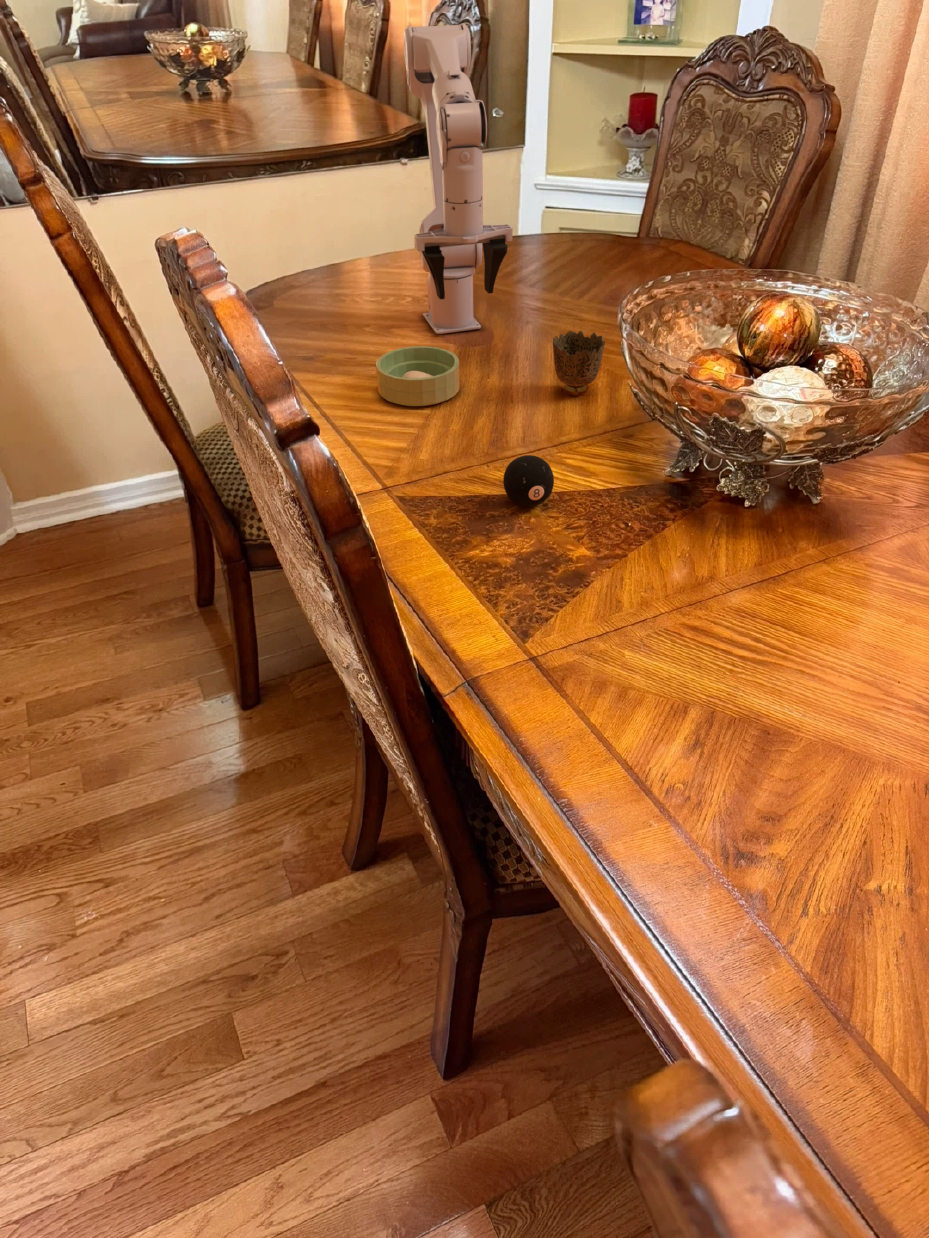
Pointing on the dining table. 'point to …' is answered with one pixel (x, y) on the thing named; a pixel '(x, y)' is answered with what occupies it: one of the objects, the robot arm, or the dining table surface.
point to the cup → (577, 360)
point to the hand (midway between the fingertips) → (464, 294)
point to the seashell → (416, 374)
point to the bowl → (418, 389)
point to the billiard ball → (528, 480)
